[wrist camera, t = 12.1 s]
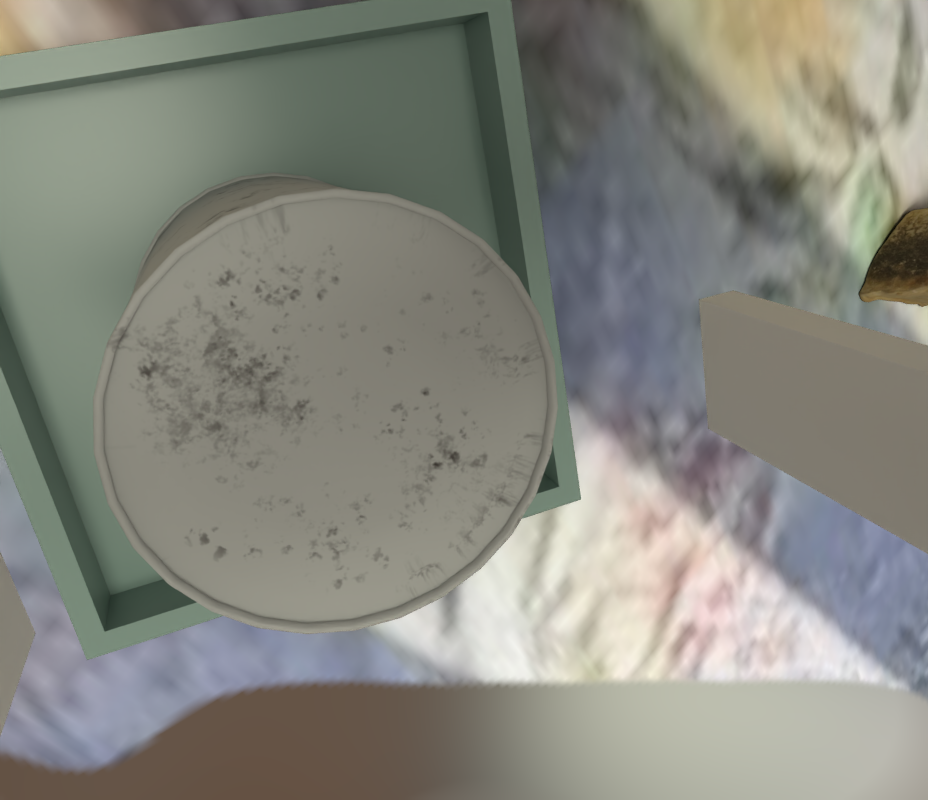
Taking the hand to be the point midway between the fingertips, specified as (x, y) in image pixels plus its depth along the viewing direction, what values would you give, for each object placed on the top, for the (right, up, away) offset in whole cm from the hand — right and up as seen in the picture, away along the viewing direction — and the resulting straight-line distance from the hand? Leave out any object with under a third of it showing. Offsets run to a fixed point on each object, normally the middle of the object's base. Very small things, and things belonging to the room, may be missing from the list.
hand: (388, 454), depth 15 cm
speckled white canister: (-5, +4, +13) cm, 15 cm away
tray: (-5, +4, +14) cm, 16 cm away
